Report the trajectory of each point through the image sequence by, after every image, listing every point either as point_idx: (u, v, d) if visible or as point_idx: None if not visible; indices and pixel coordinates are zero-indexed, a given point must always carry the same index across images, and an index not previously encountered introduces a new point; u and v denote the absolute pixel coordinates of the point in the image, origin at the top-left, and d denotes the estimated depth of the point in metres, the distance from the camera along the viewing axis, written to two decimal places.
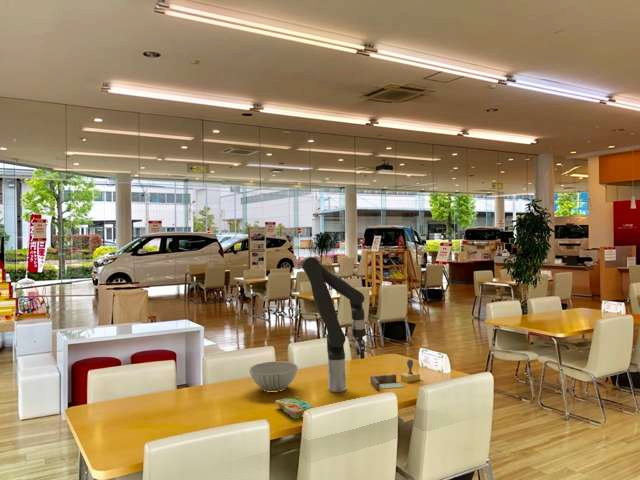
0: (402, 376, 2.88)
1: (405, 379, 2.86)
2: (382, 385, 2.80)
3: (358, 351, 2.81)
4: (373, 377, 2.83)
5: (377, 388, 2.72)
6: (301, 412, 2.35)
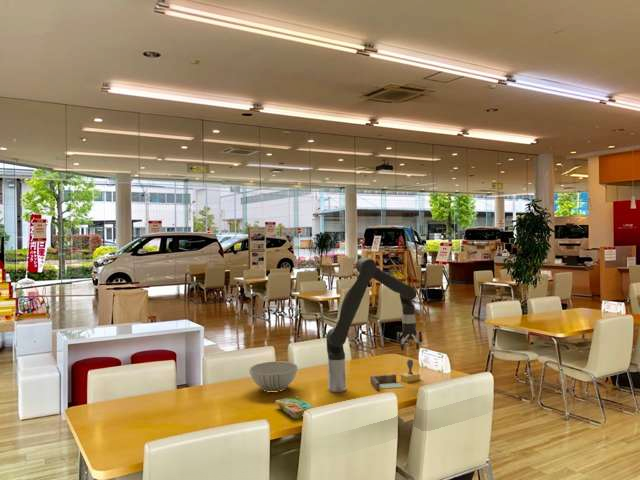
0: (402, 376, 2.88)
1: (405, 379, 2.86)
2: (382, 385, 2.80)
3: None
4: (373, 377, 2.83)
5: (377, 388, 2.72)
6: (301, 412, 2.35)
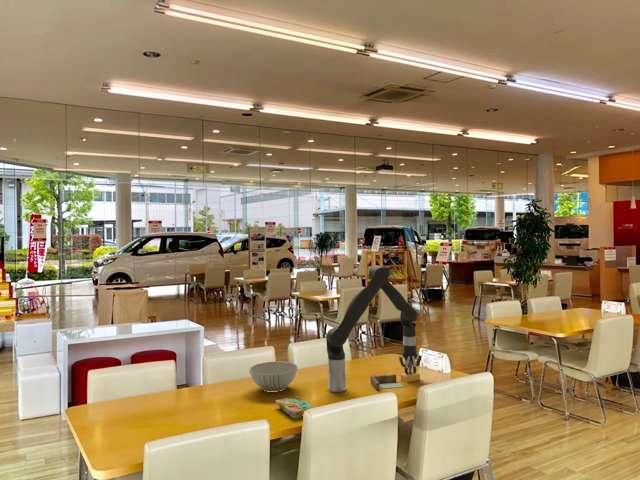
0: (402, 376, 2.88)
1: (405, 379, 2.86)
2: (382, 385, 2.80)
3: None
4: (373, 377, 2.83)
5: (377, 388, 2.72)
6: (301, 412, 2.35)
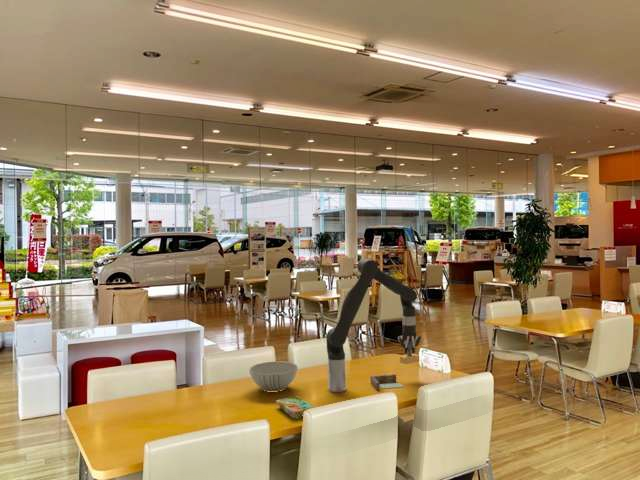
0: (401, 358, 2.88)
1: (404, 361, 2.86)
2: (382, 385, 2.80)
3: None
4: (373, 377, 2.83)
5: (377, 388, 2.72)
6: (301, 412, 2.35)
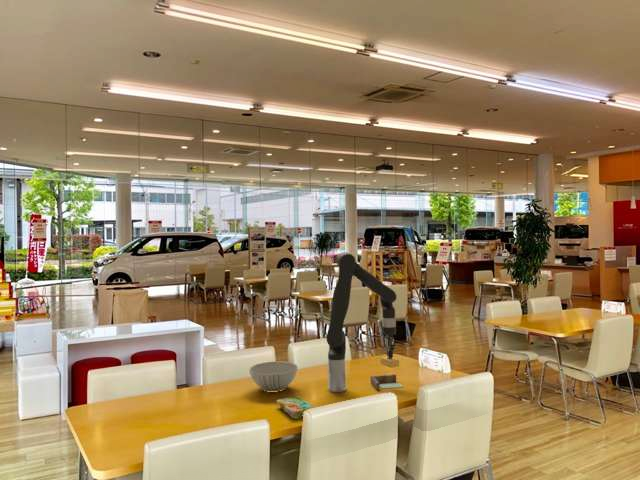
0: (393, 362, 2.75)
1: (397, 363, 2.76)
2: (382, 385, 2.80)
3: None
4: (373, 377, 2.83)
5: (377, 388, 2.72)
6: (301, 412, 2.35)
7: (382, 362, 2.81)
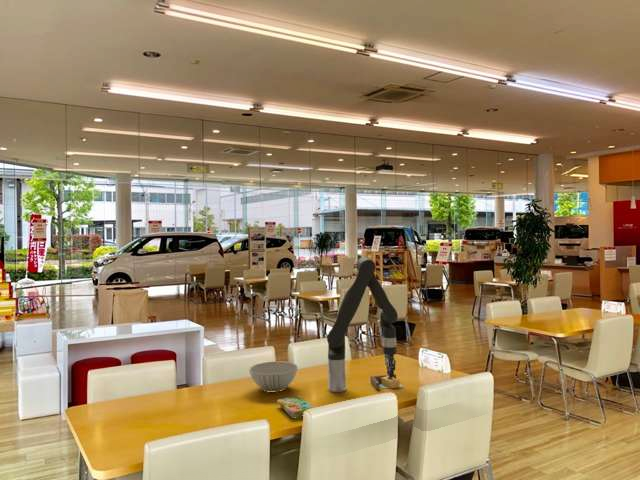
0: (394, 383, 2.75)
1: (398, 384, 2.76)
2: (382, 385, 2.80)
3: None
4: (373, 377, 2.83)
5: (377, 388, 2.72)
6: (300, 412, 2.35)
7: (382, 382, 2.81)
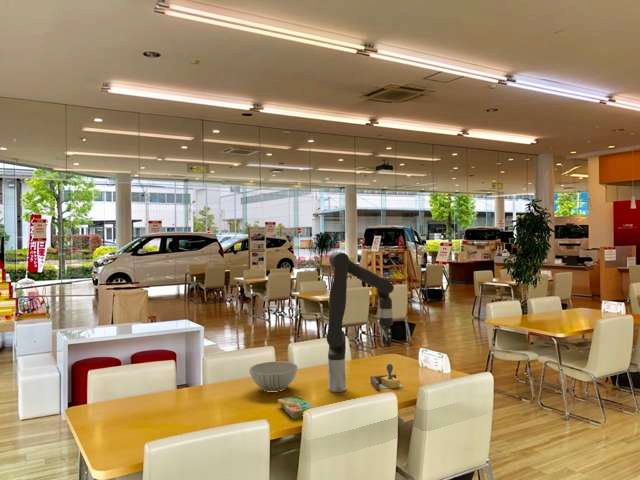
0: (394, 383, 2.75)
1: (398, 384, 2.76)
2: (382, 385, 2.80)
3: None
4: (373, 377, 2.83)
5: (377, 388, 2.72)
6: (300, 412, 2.35)
7: (382, 382, 2.81)
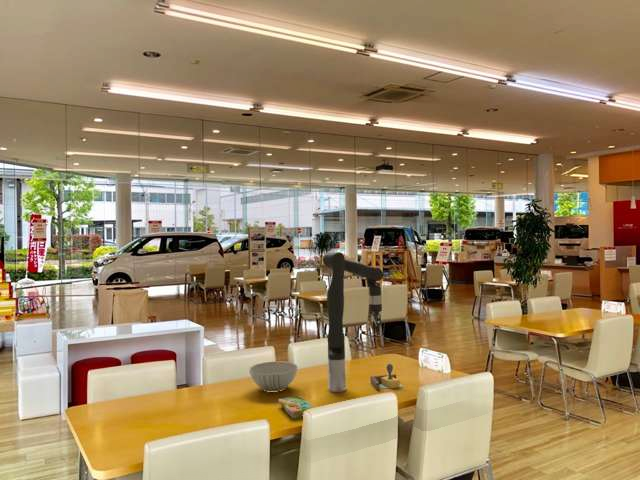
0: (394, 383, 2.75)
1: (398, 384, 2.76)
2: (382, 385, 2.80)
3: None
4: (373, 377, 2.83)
5: (377, 388, 2.72)
6: (300, 412, 2.35)
7: (382, 382, 2.81)
